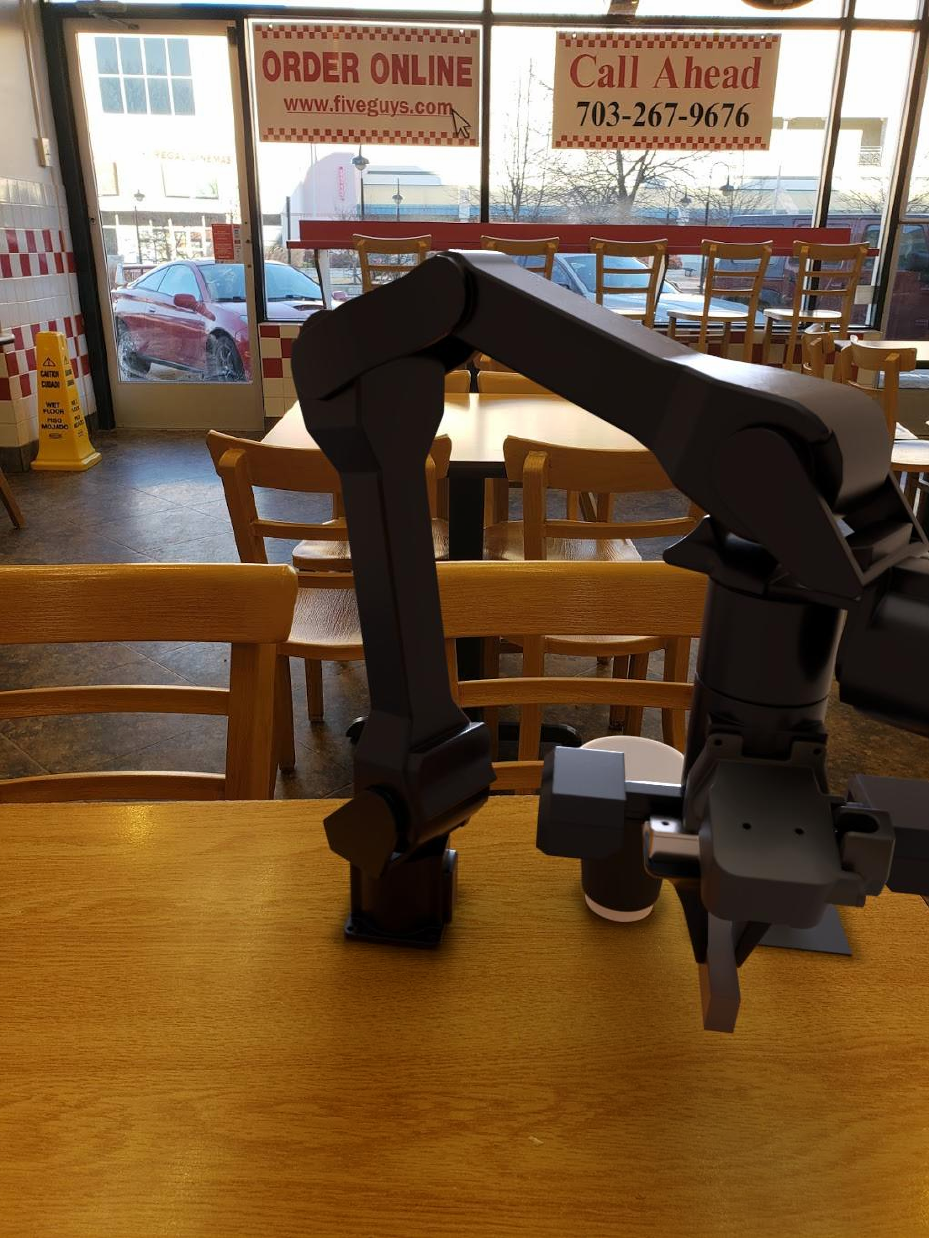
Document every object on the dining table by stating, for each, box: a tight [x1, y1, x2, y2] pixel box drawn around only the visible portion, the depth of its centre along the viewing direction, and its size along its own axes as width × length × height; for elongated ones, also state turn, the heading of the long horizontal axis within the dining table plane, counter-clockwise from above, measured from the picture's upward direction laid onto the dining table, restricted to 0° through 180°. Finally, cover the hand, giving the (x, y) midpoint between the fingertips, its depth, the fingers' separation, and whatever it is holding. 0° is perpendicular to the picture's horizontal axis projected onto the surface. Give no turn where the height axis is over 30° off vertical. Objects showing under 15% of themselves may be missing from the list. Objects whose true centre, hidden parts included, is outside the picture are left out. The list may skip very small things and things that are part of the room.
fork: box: [697, 911, 742, 1035], centre depth 51 cm, size 15×3×2 cm, turn 172°
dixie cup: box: [579, 735, 684, 923], centre depth 64 cm, size 8×8×11 cm
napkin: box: [731, 904, 853, 956], centre depth 67 cm, size 10×10×1 cm
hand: (716, 960), depth 47 cm, fingers closed on fork, 1 cm apart
